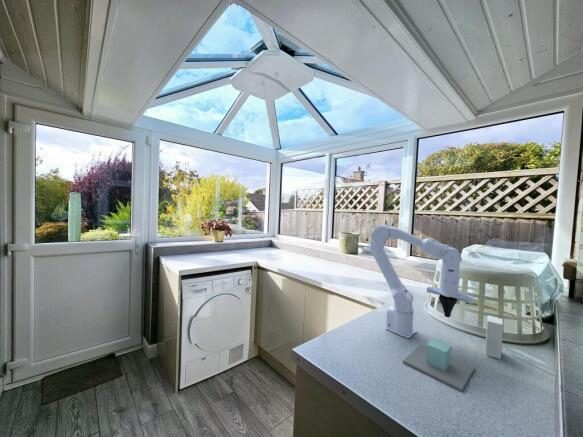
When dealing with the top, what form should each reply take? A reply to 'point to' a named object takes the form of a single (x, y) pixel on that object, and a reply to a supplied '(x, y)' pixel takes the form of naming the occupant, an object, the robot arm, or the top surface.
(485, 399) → the top surface
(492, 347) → the skincare box
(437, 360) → the mint green cube
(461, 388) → the post board
